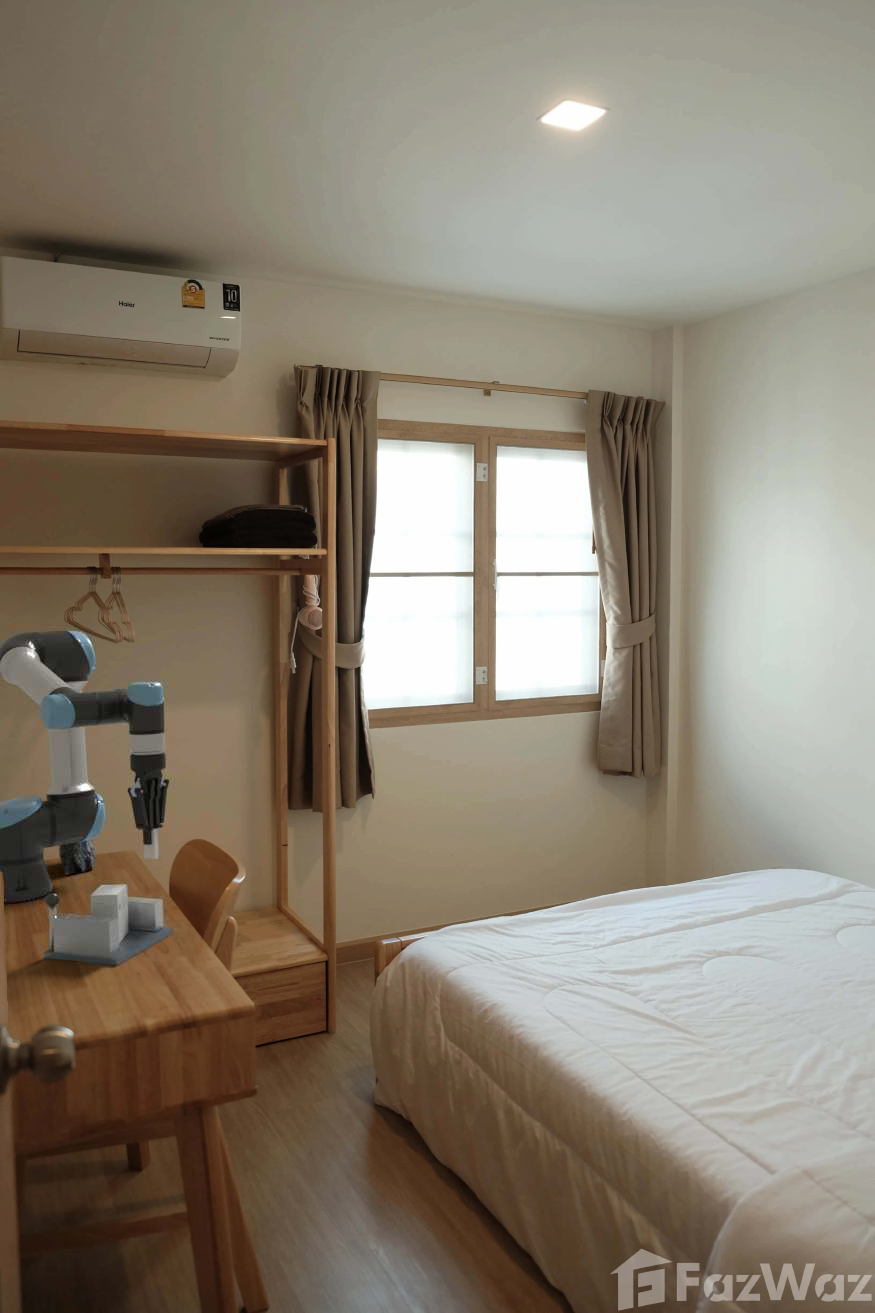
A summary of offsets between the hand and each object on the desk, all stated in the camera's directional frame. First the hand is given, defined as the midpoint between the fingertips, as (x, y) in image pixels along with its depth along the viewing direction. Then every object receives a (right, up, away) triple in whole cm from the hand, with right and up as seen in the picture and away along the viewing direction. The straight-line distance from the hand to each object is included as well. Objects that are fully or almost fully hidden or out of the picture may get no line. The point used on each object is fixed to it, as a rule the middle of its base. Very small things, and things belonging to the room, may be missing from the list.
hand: (151, 858), depth 220 cm
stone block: (-35, -13, +51) cm, 64 cm away
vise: (-4, -15, -14) cm, 21 cm away
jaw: (-2, -13, -6) cm, 15 cm away
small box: (-4, -14, -14) cm, 20 cm away
